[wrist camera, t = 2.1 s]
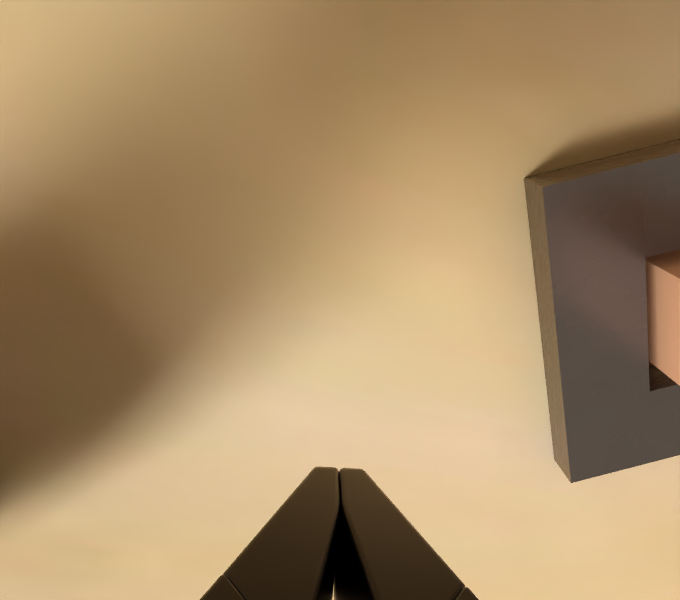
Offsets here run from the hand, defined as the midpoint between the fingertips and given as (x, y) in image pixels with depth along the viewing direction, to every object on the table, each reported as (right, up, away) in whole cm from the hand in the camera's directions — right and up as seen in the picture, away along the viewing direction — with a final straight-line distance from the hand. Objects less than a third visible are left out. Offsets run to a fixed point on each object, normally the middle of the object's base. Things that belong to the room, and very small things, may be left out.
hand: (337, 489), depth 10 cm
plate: (+13, +3, +13) cm, 19 cm away
